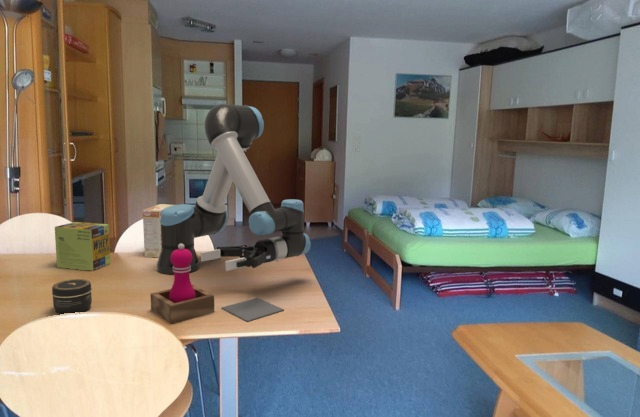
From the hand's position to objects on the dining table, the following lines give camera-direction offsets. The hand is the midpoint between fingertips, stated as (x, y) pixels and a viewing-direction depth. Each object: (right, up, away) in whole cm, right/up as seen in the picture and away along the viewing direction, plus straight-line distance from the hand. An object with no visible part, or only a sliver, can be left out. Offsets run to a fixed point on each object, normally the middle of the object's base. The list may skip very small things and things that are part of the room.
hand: (213, 261), depth 144 cm
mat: (+12, -14, -2) cm, 19 cm away
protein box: (-56, -6, +37) cm, 68 cm away
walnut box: (-8, -14, -4) cm, 16 cm away
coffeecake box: (-35, -3, +58) cm, 67 cm away
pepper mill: (-8, -14, -4) cm, 17 cm away
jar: (-39, -13, -5) cm, 42 cm away
